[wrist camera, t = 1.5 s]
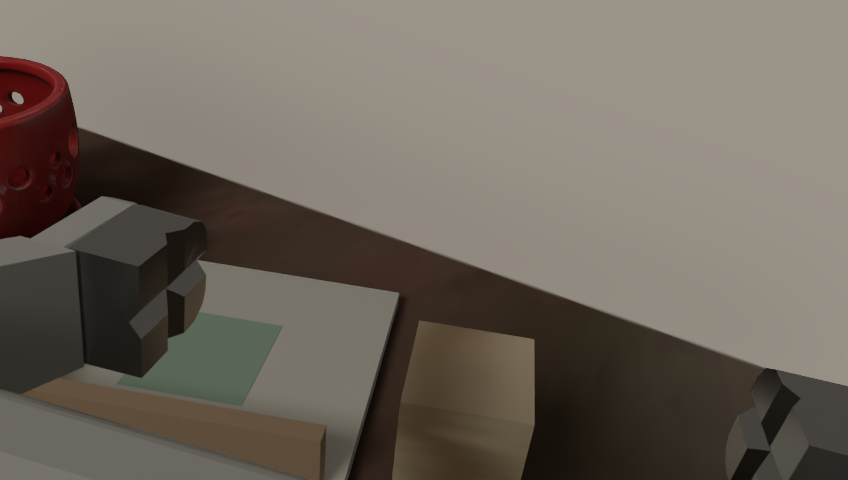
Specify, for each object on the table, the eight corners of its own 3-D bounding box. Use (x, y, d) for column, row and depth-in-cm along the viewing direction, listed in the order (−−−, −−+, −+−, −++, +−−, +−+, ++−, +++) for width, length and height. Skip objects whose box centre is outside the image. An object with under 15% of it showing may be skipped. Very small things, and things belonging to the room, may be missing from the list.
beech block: (488, 534, 32) (534, 339, 26) (482, 627, 29) (534, 424, 22) (396, 517, 33) (419, 320, 26) (377, 607, 29) (400, 401, 23)
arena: (398, 304, 47) (403, 250, 45) (339, 510, 33) (342, 445, 30) (149, 264, 48) (142, 208, 46) (-14, 445, 34) (-37, 378, 31)
